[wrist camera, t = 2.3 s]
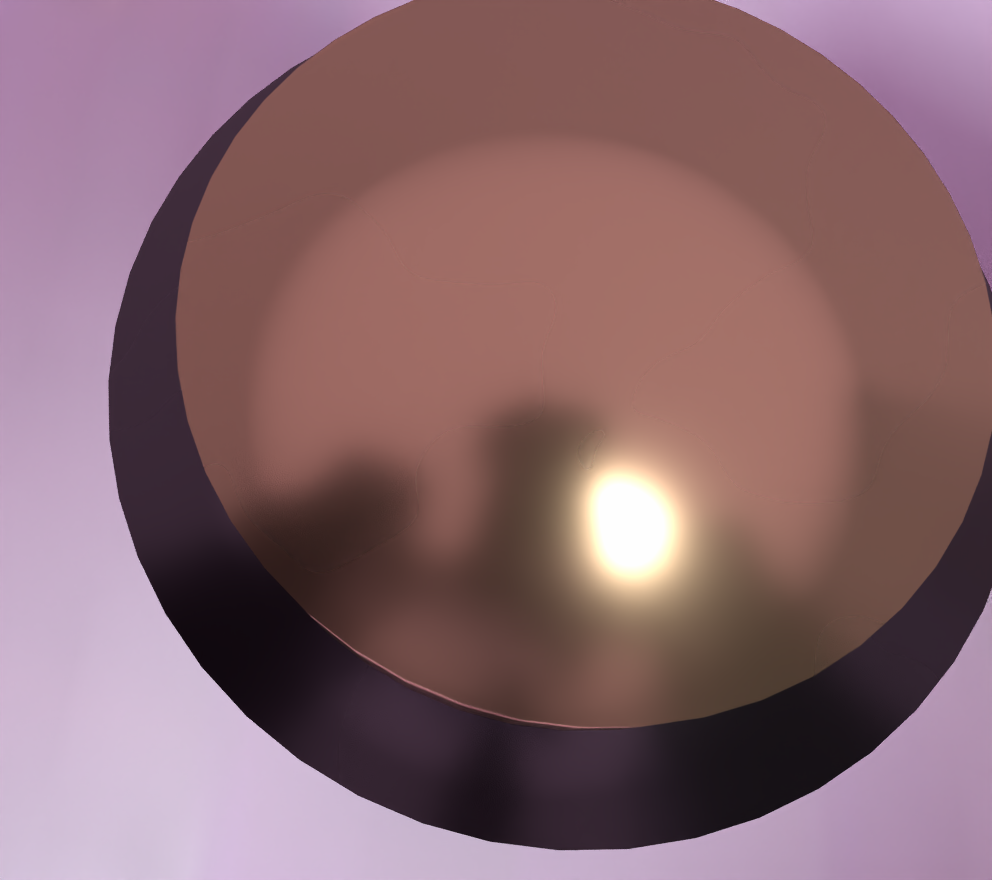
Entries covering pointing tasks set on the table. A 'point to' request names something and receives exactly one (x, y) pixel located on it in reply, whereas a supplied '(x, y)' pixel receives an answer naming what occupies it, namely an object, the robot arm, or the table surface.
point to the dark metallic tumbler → (562, 417)
